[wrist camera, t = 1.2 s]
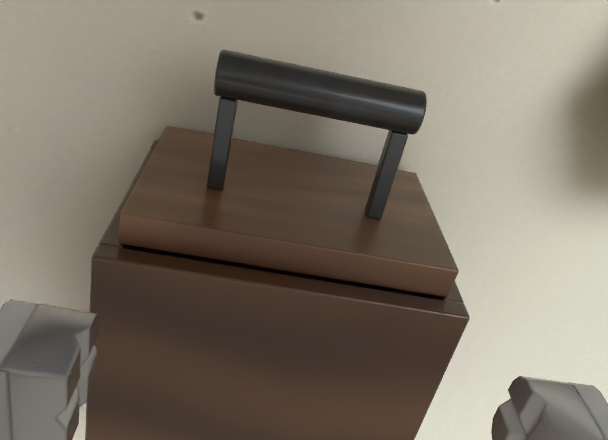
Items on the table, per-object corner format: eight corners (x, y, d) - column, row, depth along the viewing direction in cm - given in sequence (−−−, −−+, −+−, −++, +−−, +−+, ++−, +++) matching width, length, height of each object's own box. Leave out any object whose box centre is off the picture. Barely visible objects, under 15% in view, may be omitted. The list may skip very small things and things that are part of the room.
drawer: (178, 8, 22) (129, 58, 16) (452, 67, 24) (516, 137, 17) (143, 353, 31) (103, 480, 25) (344, 382, 33) (358, 509, 26)
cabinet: (154, 140, 26) (90, 256, 18) (417, 189, 28) (471, 317, 19) (133, 370, 33) (81, 530, 25) (343, 399, 35) (360, 559, 26)
